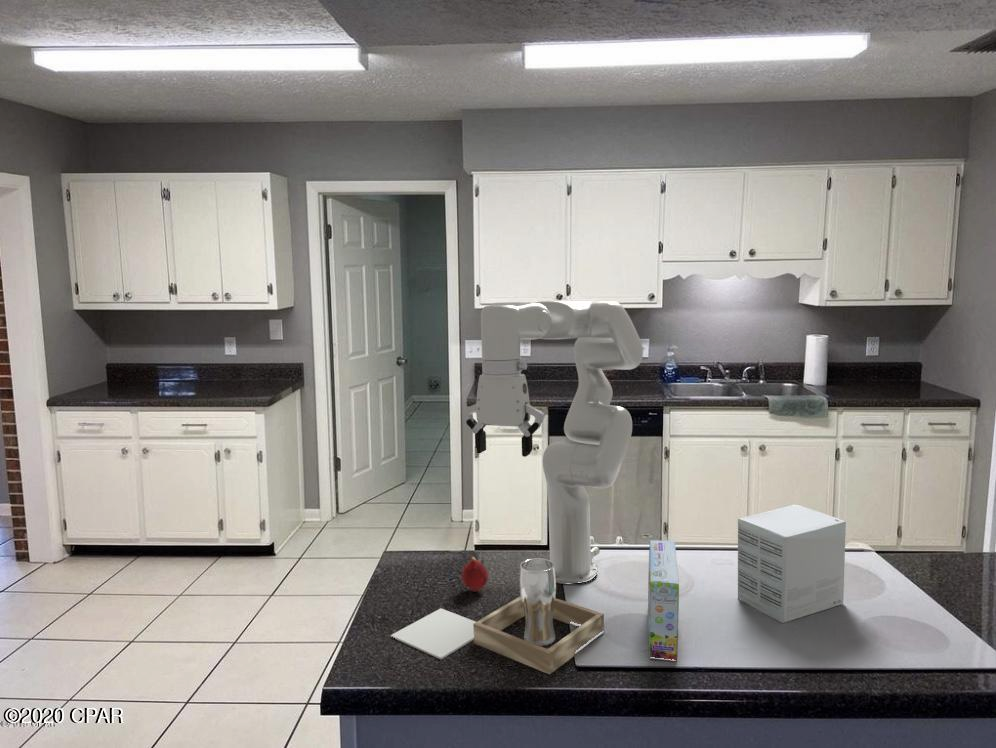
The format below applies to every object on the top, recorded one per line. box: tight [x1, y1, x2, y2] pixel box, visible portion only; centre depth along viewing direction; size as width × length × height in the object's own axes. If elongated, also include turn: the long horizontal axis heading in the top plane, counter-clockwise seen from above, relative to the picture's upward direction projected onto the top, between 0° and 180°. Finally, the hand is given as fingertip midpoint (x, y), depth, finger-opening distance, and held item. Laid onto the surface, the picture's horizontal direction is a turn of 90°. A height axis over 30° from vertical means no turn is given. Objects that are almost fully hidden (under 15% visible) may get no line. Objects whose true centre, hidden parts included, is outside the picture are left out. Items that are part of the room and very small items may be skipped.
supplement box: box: [737, 503, 847, 624], centre depth 148 cm, size 17×13×18 cm
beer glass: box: [519, 557, 557, 647], centre depth 137 cm, size 7×7×15 cm
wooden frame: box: [473, 595, 605, 675], centre depth 138 cm, size 18×18×4 cm
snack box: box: [647, 539, 680, 661], centre depth 138 cm, size 21×6×15 cm, turn 168°
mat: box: [390, 607, 477, 660], centre depth 142 cm, size 14×14×1 cm
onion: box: [461, 556, 489, 593], centre depth 159 cm, size 6×6×8 cm
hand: (503, 453), depth 142 cm, fingers open, 9 cm apart
